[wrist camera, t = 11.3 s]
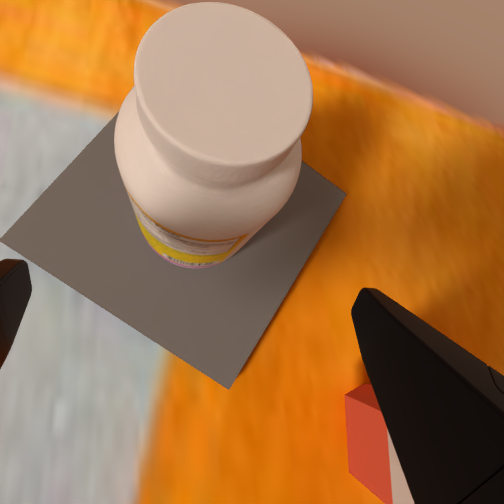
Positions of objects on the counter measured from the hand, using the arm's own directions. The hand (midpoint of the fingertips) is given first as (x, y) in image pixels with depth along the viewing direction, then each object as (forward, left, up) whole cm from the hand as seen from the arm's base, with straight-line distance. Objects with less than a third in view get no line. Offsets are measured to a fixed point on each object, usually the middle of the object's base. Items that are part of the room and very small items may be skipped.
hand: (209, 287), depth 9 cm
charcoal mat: (+3, -5, -12) cm, 13 cm away
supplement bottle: (+3, -4, -11) cm, 12 cm away
